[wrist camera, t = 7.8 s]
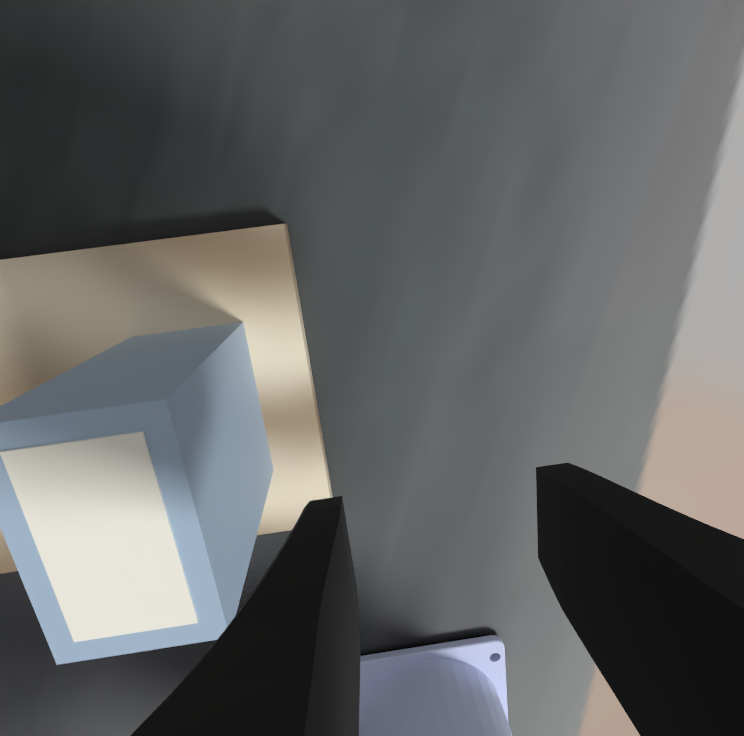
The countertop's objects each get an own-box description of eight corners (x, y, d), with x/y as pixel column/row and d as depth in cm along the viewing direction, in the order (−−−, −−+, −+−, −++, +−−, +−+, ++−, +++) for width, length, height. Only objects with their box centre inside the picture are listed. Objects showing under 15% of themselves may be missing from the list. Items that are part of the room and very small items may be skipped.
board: (334, 509, 21) (334, 523, 20) (-40, 565, 20) (-59, 582, 19) (286, 223, 17) (283, 223, 16) (-169, 281, 16) (-200, 285, 16)
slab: (273, 469, 19) (229, 639, 11) (172, 484, 19) (55, 666, 11) (243, 322, 17) (165, 400, 9) (130, 336, 17) (-44, 429, 9)
